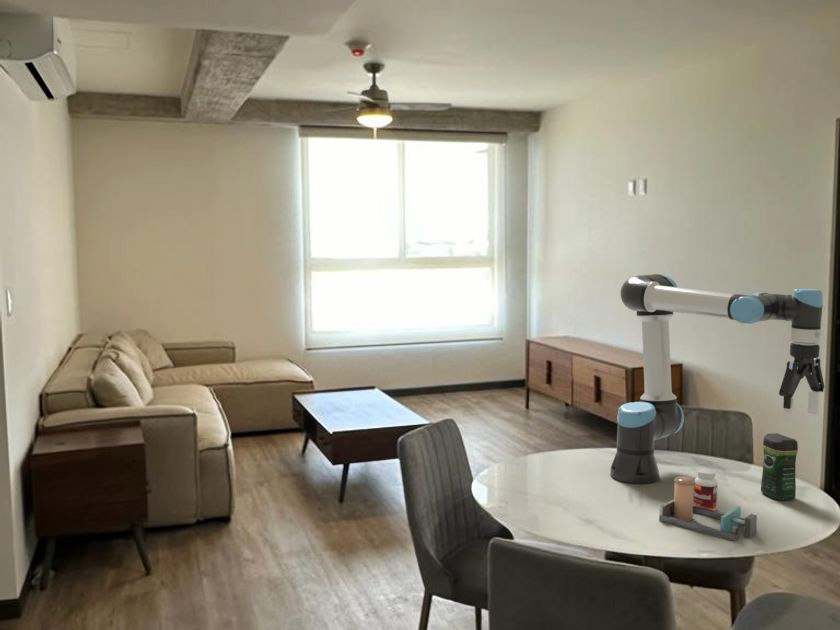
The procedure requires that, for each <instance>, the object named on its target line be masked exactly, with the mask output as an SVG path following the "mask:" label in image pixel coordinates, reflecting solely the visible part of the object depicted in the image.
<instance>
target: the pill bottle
mask: <svg viewBox="0 0 840 630" xmlns="http://www.w3.org/2000/svg"><path fill="white" fill-rule="evenodd" d="M717 500H718V481H717V479H716V471H715V470H713V469H709V468H699V469H697V477H695V479H694V496H693V506H697V507H701V508H705V509H709V510H713V511H716V510H717Z"/></svg>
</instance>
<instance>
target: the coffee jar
mask: <svg viewBox="0 0 840 630" xmlns="http://www.w3.org/2000/svg"><path fill="white" fill-rule="evenodd" d="M798 444H799V443H798V441H797V439H794V438H792V437H789V436H786V435H783V434H780V433H777V432H776V433H773V432H771V433H767V434H765V435H764V437H763V442H762V450H763V464H762V465H763V466H762V473H761V481H760V492H761V493H762V494H764V495H765V496H767V497H769V498H771V499H773V500H781V501H782V500H783V501H789V500H793V499H795V498H796V493H797V492H796V491H797V487H796V486H797V485H796V484H797V483H796V482H797V481H796V468H797V467H796V465H797V464H796V463H797V462H796V460H797V456H798V453H799V452H798V451H799V449H798V448H799V447H798V446H799V445H798Z"/></svg>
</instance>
